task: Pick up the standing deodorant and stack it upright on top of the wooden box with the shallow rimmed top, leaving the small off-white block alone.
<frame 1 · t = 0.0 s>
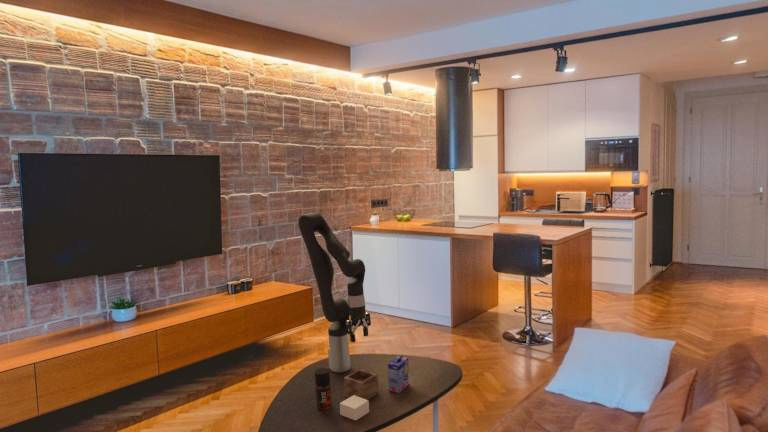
hand: (359, 339, 240), 17 cm above the table, tool pointing down, fingers open, 8 cm apart
ink cartridge box: (399, 388, 228), on the table
offwhite block: (354, 413, 208), on the table
wooden box: (361, 395, 223), on the table
deodorant: (324, 406, 215), on the table
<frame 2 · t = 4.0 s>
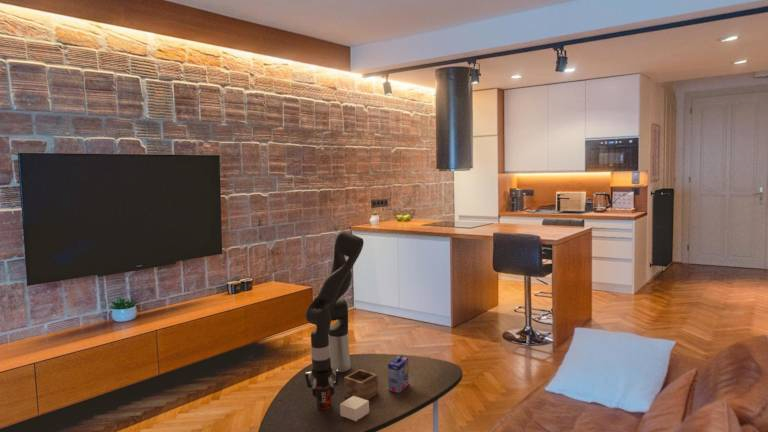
hand: (323, 395, 214), 5 cm above the table, tool pointing down, fingers closed on deodorant, 6 cm apart
deodorant: (324, 406, 215), on the table, touching gripper
everything else where it was.
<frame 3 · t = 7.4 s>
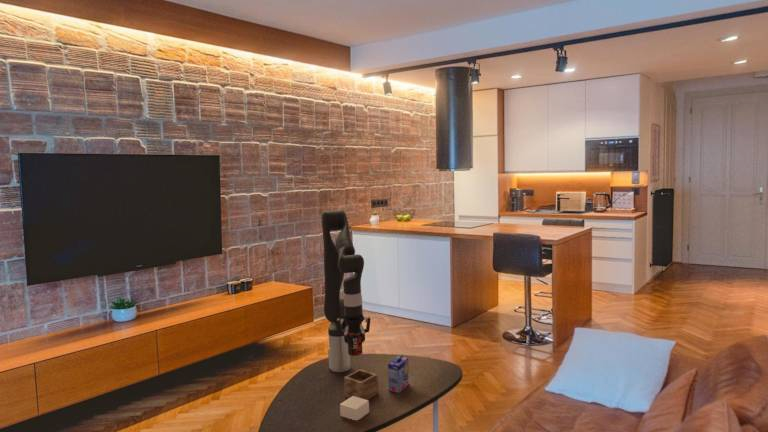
hand: (354, 342, 219), 23 cm above the table, tool pointing down, fingers closed on deodorant, 6 cm apart
deodorant: (355, 353, 220), point 19 cm above the table, touching gripper
everything else where it was.
when the fingers open (10 cm above the table, at t = 10.9 s): deodorant stays where it is, resting on wooden box.
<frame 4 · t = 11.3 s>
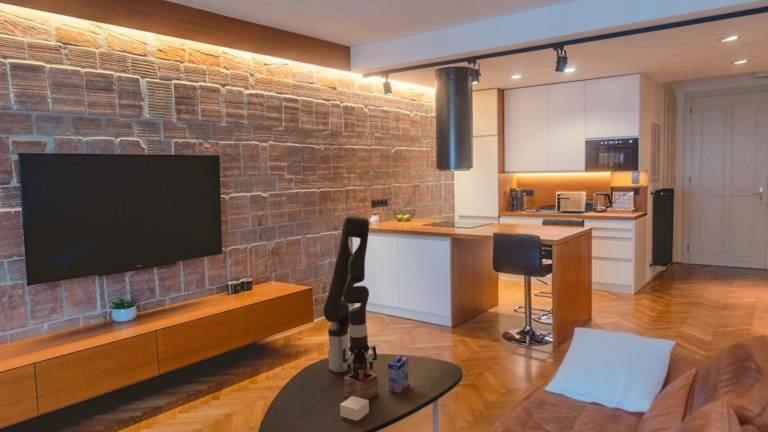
hand: (360, 370, 222), 11 cm above the table, tool pointing down, fingers open, 8 cm apart
wooden box: (361, 395, 223), on the table, touching deodorant
deodorant: (361, 384, 223), point 5 cm above the table, touching wooden box
everything else where it was.
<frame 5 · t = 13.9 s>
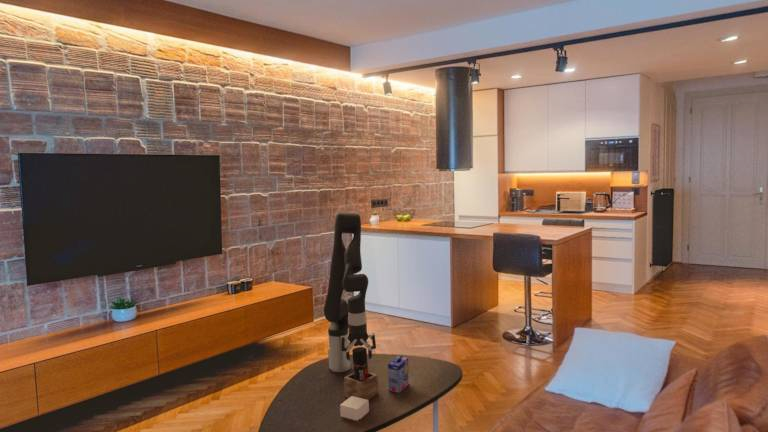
hand: (359, 359, 221), 16 cm above the table, tool pointing down, fingers open, 8 cm apart
nothing on the table moved.
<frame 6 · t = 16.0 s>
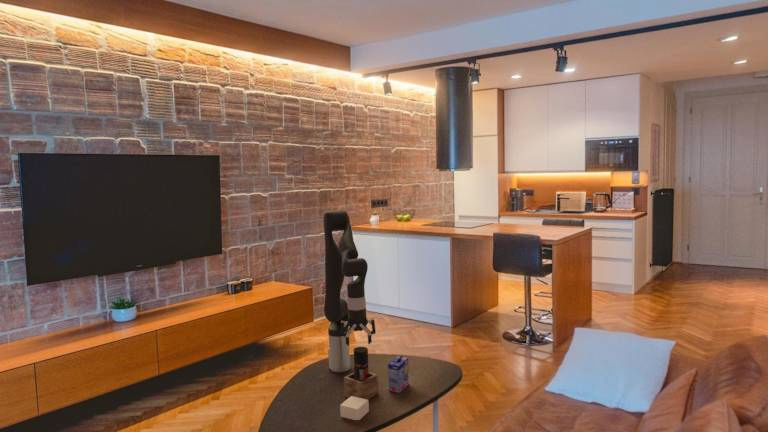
hand: (358, 344, 220), 22 cm above the table, tool pointing down, fingers open, 8 cm apart
wooden box: (361, 395, 223), on the table
deodorant: (361, 383, 223), point 5 cm above the table
everything else where it was.
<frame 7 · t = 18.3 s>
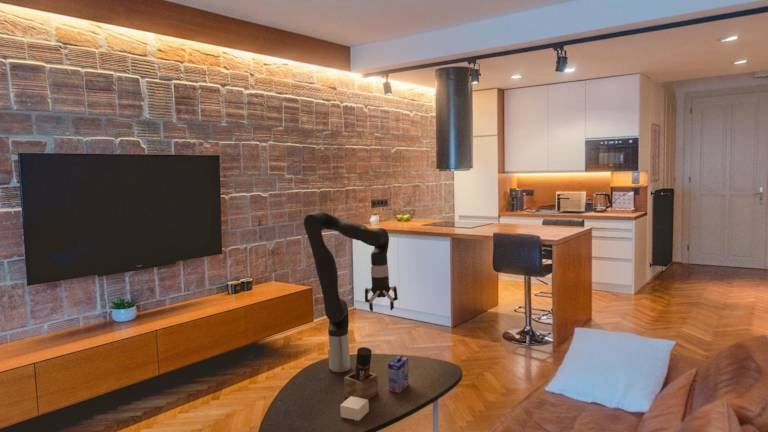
hand: (381, 310, 233), 32 cm above the table, tool pointing down, fingers open, 8 cm apart
wooden box: (361, 395, 223), on the table, touching deodorant
deodorant: (361, 382, 222), point 5 cm above the table, touching wooden box
everything else where it was.
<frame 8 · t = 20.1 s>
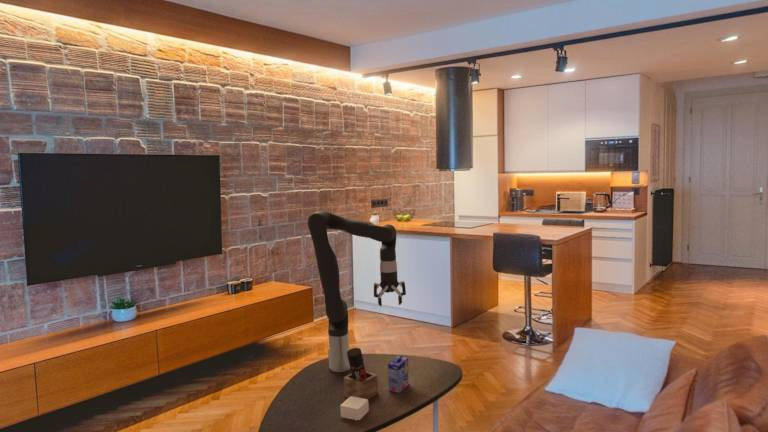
hand: (390, 305, 238), 32 cm above the table, tool pointing down, fingers open, 8 cm apart
at the end: deodorant 0.1 cm off-centre on the wooden box, point 5.2 cm above the wooden box's base; deodorant tilted 8°; the gripper is holding nothing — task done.
